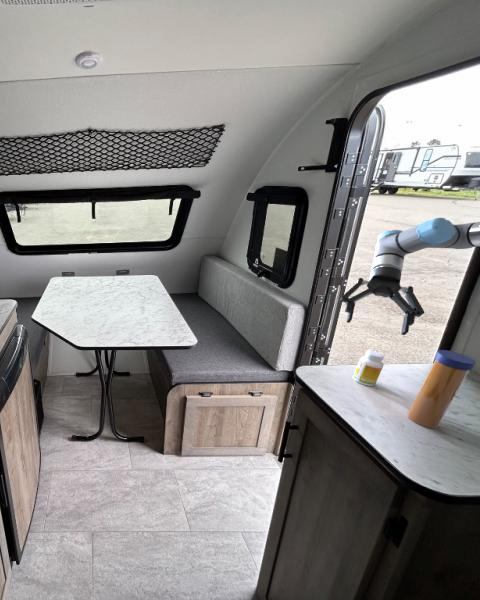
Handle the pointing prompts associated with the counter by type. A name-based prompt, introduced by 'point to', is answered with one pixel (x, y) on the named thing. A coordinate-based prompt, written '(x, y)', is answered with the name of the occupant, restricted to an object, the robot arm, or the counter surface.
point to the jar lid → (455, 360)
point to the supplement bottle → (369, 368)
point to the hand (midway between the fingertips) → (375, 327)
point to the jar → (436, 394)
